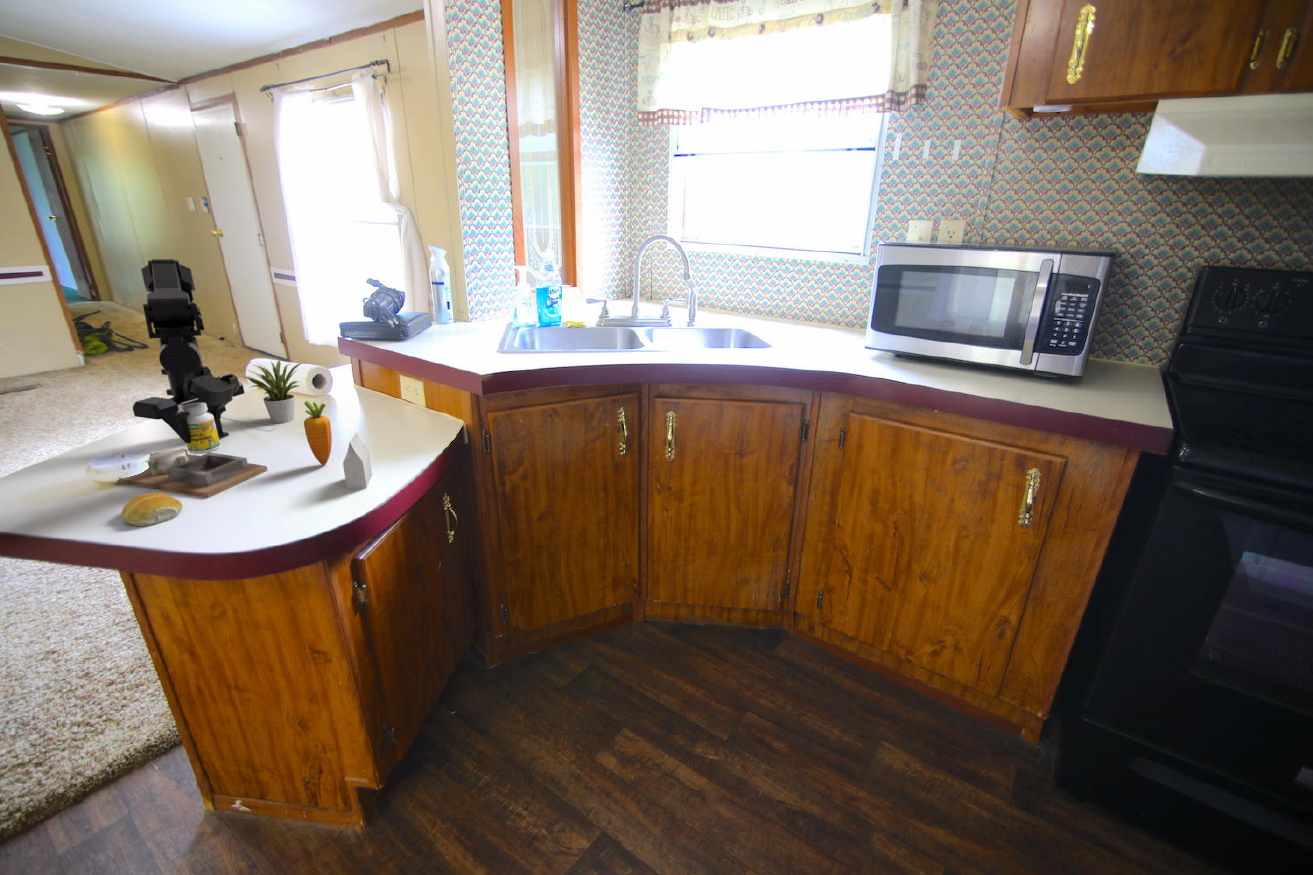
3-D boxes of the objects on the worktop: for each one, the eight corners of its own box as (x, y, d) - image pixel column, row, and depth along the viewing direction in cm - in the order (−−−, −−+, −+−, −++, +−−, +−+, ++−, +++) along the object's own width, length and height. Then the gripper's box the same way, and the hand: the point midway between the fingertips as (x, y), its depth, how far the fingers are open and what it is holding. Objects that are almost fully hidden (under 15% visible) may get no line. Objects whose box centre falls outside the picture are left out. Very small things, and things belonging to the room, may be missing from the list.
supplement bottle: (221, 443, 124) (211, 399, 121) (220, 451, 120) (210, 407, 117) (189, 447, 121) (178, 402, 118) (187, 456, 117) (175, 410, 114)
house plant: (302, 407, 168) (292, 350, 162) (327, 417, 160) (317, 359, 155) (246, 418, 157) (233, 358, 151) (270, 431, 149) (257, 368, 144)
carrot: (341, 463, 133) (332, 399, 128) (323, 471, 129) (312, 405, 123) (324, 459, 135) (314, 396, 129) (305, 467, 130) (294, 402, 125)
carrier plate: (118, 482, 119) (112, 464, 118) (184, 457, 132) (180, 440, 131) (208, 497, 115) (203, 479, 114) (267, 470, 128) (264, 453, 126)
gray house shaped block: (372, 475, 128) (366, 431, 125) (366, 488, 122) (360, 443, 119) (353, 476, 127) (346, 432, 124) (346, 489, 121) (340, 444, 118)
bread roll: (169, 501, 113) (164, 482, 112) (190, 514, 109) (185, 495, 108) (114, 517, 107) (108, 497, 106) (134, 532, 102) (128, 512, 101)
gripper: (170, 379, 104) (191, 460, 110) (259, 356, 121) (272, 428, 127) (120, 372, 106) (142, 452, 112) (214, 351, 123) (229, 422, 129)
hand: (201, 438), depth 120 cm, fingers closed on supplement bottle, 5 cm apart
